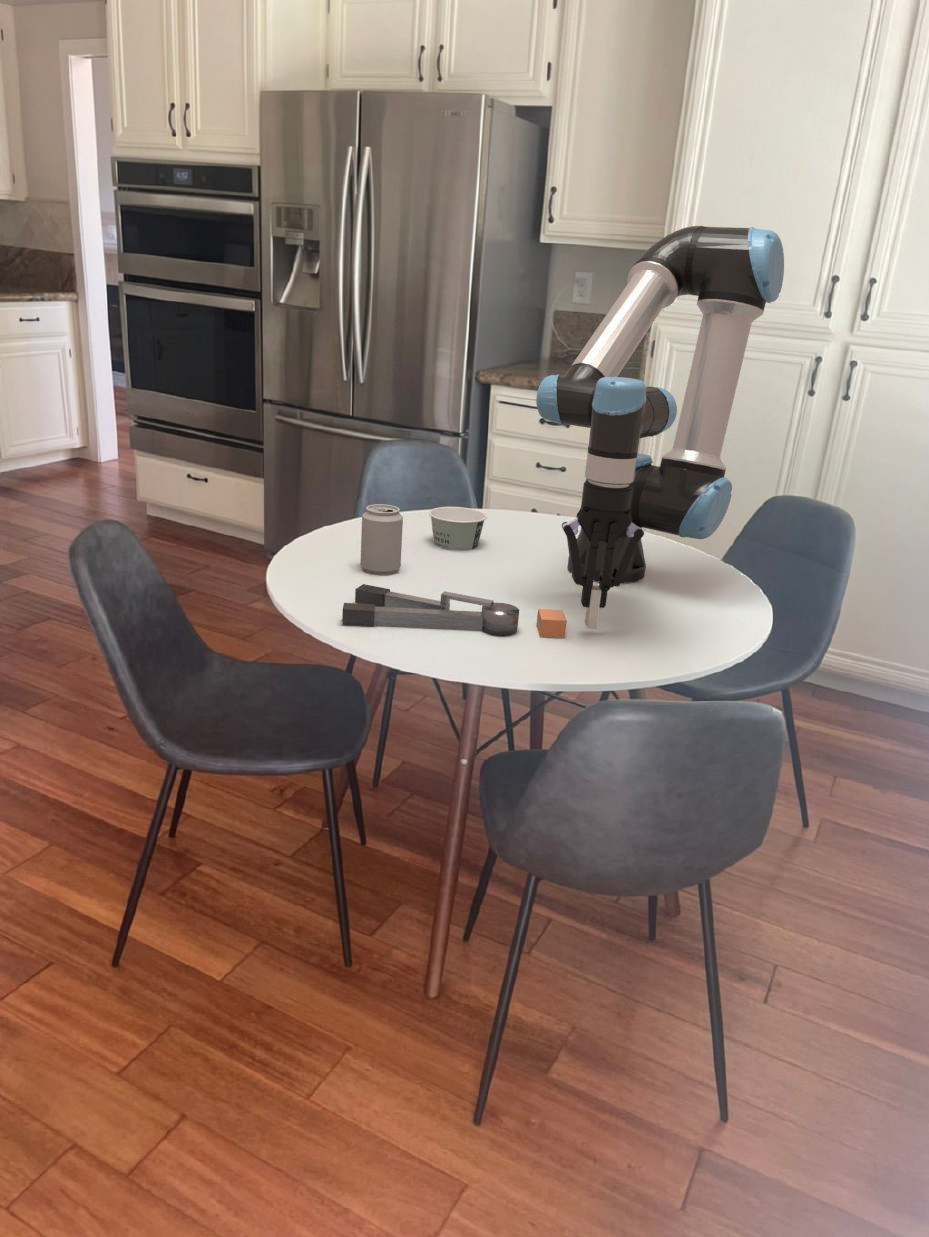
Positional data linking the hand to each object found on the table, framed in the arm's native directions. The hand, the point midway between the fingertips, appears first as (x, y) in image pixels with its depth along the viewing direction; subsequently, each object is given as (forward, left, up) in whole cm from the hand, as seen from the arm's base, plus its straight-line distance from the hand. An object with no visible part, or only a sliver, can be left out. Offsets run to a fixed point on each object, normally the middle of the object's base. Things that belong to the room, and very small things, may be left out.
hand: (590, 625), depth 152 cm
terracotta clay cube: (+6, 0, -1) cm, 7 cm away
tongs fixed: (+26, 0, -1) cm, 26 cm away
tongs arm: (+27, -5, -1) cm, 28 cm away
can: (+35, -28, -2) cm, 45 cm away
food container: (+20, -48, -2) cm, 52 cm away
